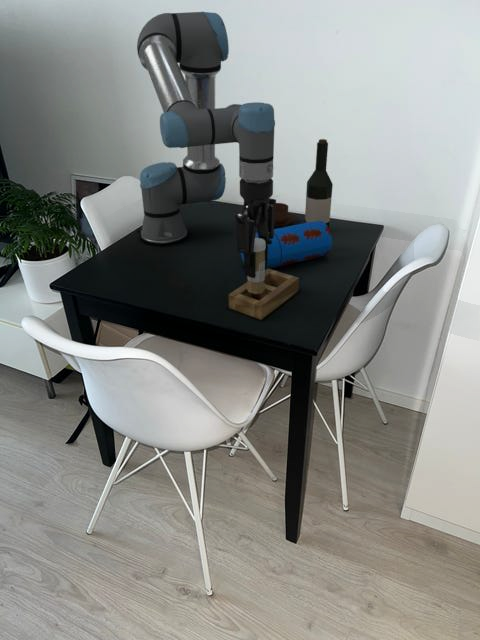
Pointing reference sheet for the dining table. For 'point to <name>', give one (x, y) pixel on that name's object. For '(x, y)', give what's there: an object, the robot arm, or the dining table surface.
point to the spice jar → (258, 268)
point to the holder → (264, 295)
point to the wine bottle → (319, 188)
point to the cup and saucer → (282, 215)
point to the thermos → (298, 243)
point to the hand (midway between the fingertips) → (256, 272)
